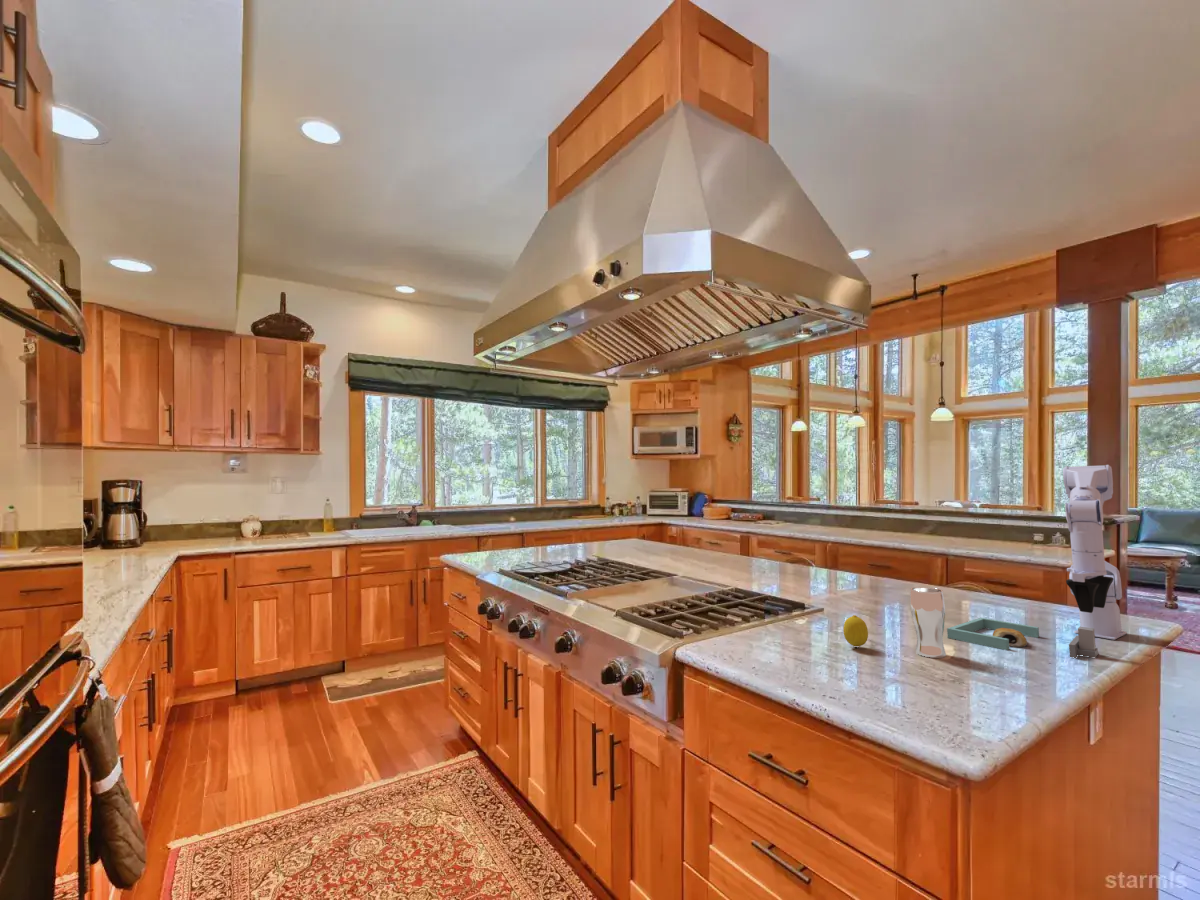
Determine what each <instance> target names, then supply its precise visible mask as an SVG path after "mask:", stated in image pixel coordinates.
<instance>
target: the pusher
mask: <svg viewBox="0 0 1200 900" xmlns="http://www.w3.org/2000/svg"><path fill="white" fill-rule="evenodd" d="M1077 630H1078V635H1075V636H1074V638H1073V639H1072V640H1071V641H1070V642H1069V644H1068V648H1069V649H1068V651H1069V658H1070V657H1074V658H1076V657H1077V655H1083V656H1089V657H1096V656H1097V655H1099V647H1096V637H1095V632H1094V628H1087V627H1080V626H1079V627H1078V628H1077ZM1083 656H1082V657H1083ZM1089 657H1088V658H1089ZM1097 657H1098V656H1097ZM1097 657H1096V658H1097ZM1074 658H1073V659H1074ZM1077 658H1078V657H1077ZM1077 658H1076V659H1077Z"/></svg>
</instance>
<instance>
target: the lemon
mask: <svg viewBox="0 0 1200 900" xmlns="http://www.w3.org/2000/svg"><path fill="white" fill-rule="evenodd" d="M842 631H843V636H844V639H845V641H846V642H847V643H848V644H849V645H851V646H853V647H854V646H859V647H861V646H863V645H865V644H866V642H867V641H868V638H869V631H868V627H867V623H866V622H865V620H864V619H862V618H861V617H858V616H857V615H856V614H853V615H852V616H850V617H848V618H846V620H845V621H844V623H843V629H842Z"/></svg>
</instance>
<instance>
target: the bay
mask: <svg viewBox="0 0 1200 900" xmlns="http://www.w3.org/2000/svg"><path fill="white" fill-rule="evenodd" d="M982 628H983V629H987V628H988V629H987V630H992V629H993V630H994V631H995V630H996V629H999V628H1008V629H1014V630H1016V631H1019V632H1021V633H1022V634H1023V635H1024V636H1025V635H1026V636H1027V637H1032V638H1037V639H1038V638H1039V637H1040V627H1038V626H1033V625H1027V624H1022V623H1015V622H1009V621H1005V620H1003V621H1002V620H997V619H991V618H984V617H979V618H978V617H977V618H975V619H972V620H969V621H966V622H963V623H960V624H957V625H954V626H949V627H947V628H946V632H947V633H946V634H947V635H946V636H947V639H950V638H951V640H955V639H956V641H960V642H966V643H971V644H975V645H980V646H984V645H985V647H990V648H994V649H999V650H1004V651H1008V650H1010V646H1009V639H1006V638H1001V637H996V636H993V635H990V634H984V633H979V632H977V631H980V630H983V629H982ZM979 629H980V630H979ZM1026 636H1025V637H1026Z"/></svg>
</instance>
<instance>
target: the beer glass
mask: <svg viewBox="0 0 1200 900" xmlns="http://www.w3.org/2000/svg"><path fill="white" fill-rule="evenodd" d="M943 592H944V591H943V590H942V589H940V588H936V587H930V586H929V587H928V586H927V587H926V586H918V587H917V586H916V587H911V588H910V612H911V618H912V621H913V624H914V625H913V626H914V630H915V633H916V646H915V654H916V655H918V654H919V655H918V656H920V655H922V656H921V657H924V656H925V658H929V657H930V659H943V658H946V656H947V655H946V654H947V653H946V649H945V647H944V637H943V636H944V630H945V629H944V628H945V622H946V606H945V598H944V593H943Z"/></svg>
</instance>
